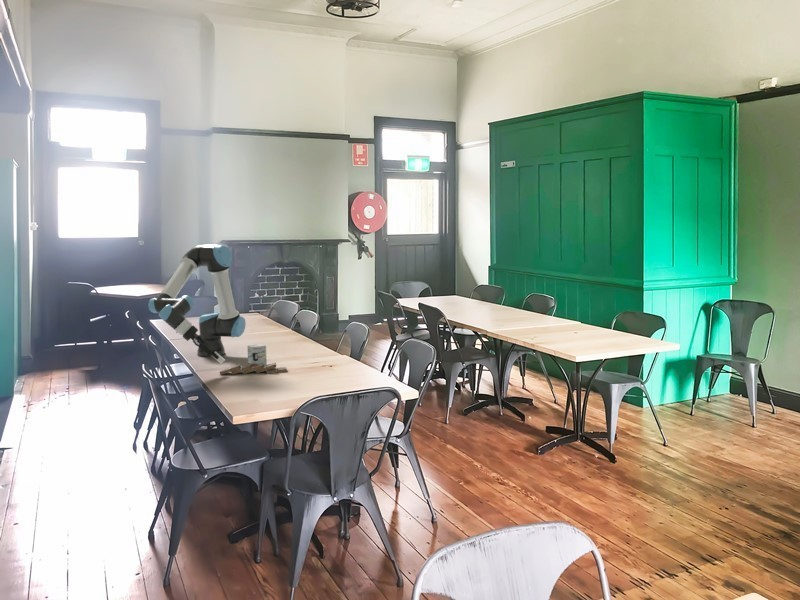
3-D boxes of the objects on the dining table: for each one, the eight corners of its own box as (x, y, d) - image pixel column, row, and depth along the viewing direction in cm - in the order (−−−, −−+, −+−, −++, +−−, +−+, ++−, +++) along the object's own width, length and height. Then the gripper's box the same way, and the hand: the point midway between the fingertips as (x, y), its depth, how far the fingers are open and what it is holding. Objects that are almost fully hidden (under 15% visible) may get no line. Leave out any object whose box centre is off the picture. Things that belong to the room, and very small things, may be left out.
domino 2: (243, 368, 344) (262, 362, 345) (244, 372, 345) (264, 365, 346) (242, 371, 339) (262, 364, 341) (244, 374, 340) (263, 368, 341)
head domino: (220, 369, 343) (239, 363, 344) (221, 372, 343) (241, 366, 344) (219, 372, 338) (239, 365, 339) (220, 375, 338) (240, 368, 339)
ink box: (251, 369, 350) (250, 347, 348) (247, 368, 353) (246, 345, 352) (267, 367, 355) (266, 345, 353) (263, 365, 359) (262, 343, 357)
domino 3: (256, 368, 345) (275, 362, 346) (257, 371, 346) (276, 365, 347) (255, 370, 341) (274, 364, 341) (256, 373, 341) (275, 367, 342)
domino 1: (232, 369, 344) (251, 363, 345) (233, 372, 344) (252, 366, 345) (231, 371, 339) (250, 365, 340) (232, 374, 339) (251, 368, 340)
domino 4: (266, 368, 346) (286, 367, 348) (266, 371, 347) (286, 370, 348) (266, 370, 341) (286, 369, 343) (266, 373, 342) (286, 372, 343)
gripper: (183, 333, 342) (219, 364, 346) (179, 338, 329) (216, 370, 333) (194, 322, 342) (229, 354, 346) (190, 326, 329) (227, 359, 334)
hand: (223, 362), depth 340 cm, fingers closed
